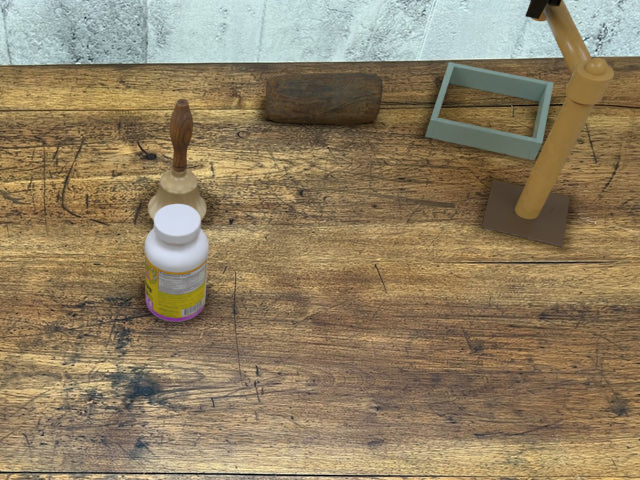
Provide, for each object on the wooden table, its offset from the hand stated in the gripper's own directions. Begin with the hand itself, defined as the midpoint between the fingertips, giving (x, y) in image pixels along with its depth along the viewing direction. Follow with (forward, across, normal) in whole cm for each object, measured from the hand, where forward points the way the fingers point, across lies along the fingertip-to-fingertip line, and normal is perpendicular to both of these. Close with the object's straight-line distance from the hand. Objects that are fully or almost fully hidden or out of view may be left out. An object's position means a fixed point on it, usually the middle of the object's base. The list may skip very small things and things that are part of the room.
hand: (536, 5), depth 92 cm
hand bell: (-6, -32, -33) cm, 46 cm away
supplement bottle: (-16, -26, -43) cm, 53 cm away
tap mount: (+4, +7, -22) cm, 24 cm away
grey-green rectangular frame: (+16, 0, -10) cm, 19 cm away
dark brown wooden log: (+11, -21, -16) cm, 29 cm away
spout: (-2, +4, -6) cm, 7 cm away
